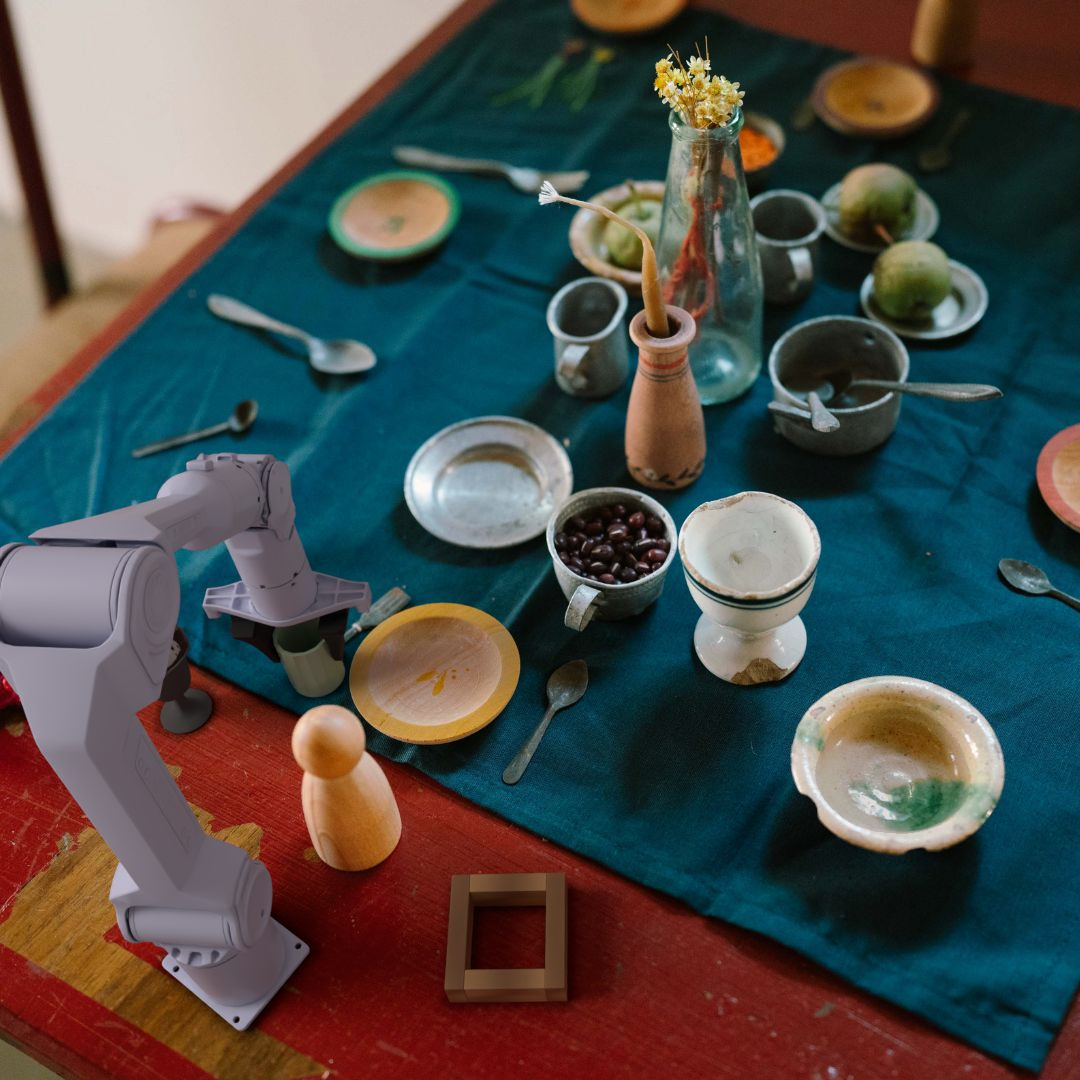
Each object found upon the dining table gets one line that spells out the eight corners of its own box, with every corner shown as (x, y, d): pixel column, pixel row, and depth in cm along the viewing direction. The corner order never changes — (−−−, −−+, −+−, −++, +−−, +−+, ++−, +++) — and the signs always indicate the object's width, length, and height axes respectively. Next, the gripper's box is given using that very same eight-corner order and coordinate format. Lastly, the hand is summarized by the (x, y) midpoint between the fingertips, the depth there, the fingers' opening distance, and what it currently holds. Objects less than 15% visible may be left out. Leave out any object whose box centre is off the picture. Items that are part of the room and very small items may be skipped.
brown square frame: (449, 1002, 91) (444, 989, 89) (457, 889, 97) (451, 874, 95) (567, 1001, 90) (564, 988, 88) (567, 887, 96) (565, 872, 94)
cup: (280, 681, 112) (260, 639, 107) (317, 643, 114) (300, 600, 109) (319, 706, 110) (301, 665, 104) (356, 667, 112) (341, 624, 107)
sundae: (190, 669, 114) (137, 575, 102) (235, 705, 111) (185, 611, 99) (137, 717, 111) (75, 624, 99) (181, 754, 108) (123, 663, 96)
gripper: (361, 523, 101) (390, 615, 111) (198, 530, 102) (241, 621, 112) (352, 587, 96) (382, 678, 107) (181, 594, 97) (228, 683, 108)
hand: (309, 653), depth 109 cm, fingers closed on cup, 5 cm apart
